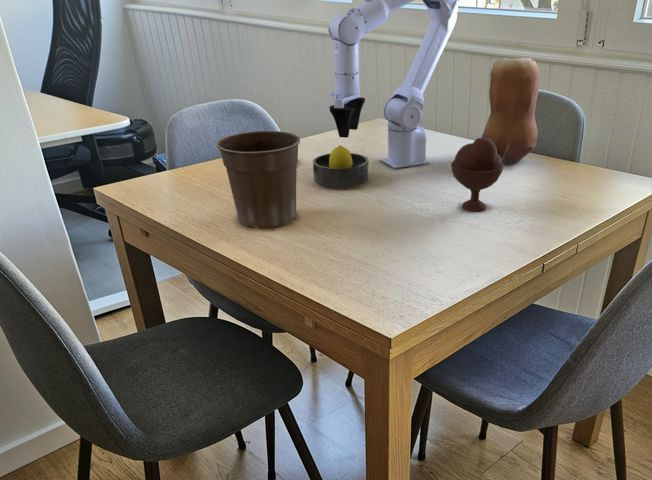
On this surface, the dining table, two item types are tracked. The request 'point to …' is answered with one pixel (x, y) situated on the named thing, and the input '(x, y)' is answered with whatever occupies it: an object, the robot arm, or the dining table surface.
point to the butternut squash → (513, 107)
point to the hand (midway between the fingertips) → (348, 133)
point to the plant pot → (262, 176)
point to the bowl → (341, 172)
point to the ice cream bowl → (477, 170)
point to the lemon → (340, 158)
